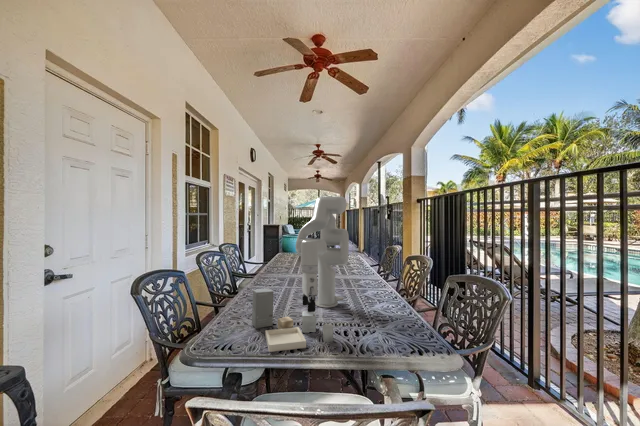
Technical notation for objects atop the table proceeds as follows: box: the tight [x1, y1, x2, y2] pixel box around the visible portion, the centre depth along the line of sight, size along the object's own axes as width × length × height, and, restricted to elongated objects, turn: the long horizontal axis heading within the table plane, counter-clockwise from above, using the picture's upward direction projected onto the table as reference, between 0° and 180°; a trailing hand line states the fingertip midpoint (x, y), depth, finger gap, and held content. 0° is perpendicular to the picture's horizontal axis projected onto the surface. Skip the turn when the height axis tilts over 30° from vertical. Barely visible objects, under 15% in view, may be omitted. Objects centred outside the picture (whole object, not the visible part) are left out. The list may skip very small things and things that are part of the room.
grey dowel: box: [322, 323, 334, 343], centre depth 119 cm, size 4×4×6 cm
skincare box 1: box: [251, 288, 274, 329], centre depth 134 cm, size 8×7×16 cm
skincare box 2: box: [301, 310, 317, 334], centre depth 129 cm, size 6×6×7 cm
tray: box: [264, 326, 307, 353], centre depth 117 cm, size 14×14×2 cm
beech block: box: [277, 316, 294, 329], centre depth 128 cm, size 5×5×5 cm
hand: (308, 308), depth 128 cm, fingers open, 9 cm apart
